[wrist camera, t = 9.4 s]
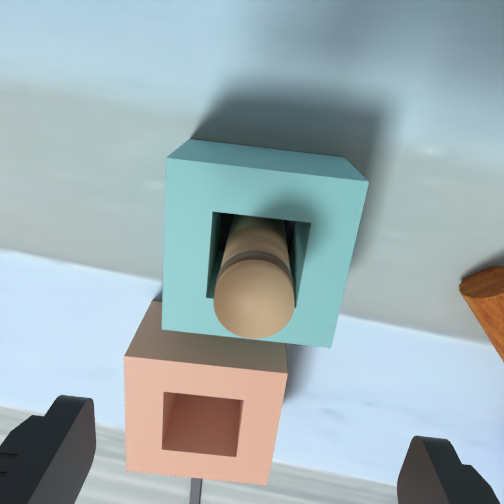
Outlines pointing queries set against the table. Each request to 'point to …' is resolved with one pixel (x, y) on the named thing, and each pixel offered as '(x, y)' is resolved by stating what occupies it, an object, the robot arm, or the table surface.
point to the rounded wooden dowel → (255, 278)
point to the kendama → (487, 302)
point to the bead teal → (261, 205)
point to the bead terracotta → (202, 403)
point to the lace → (195, 490)
